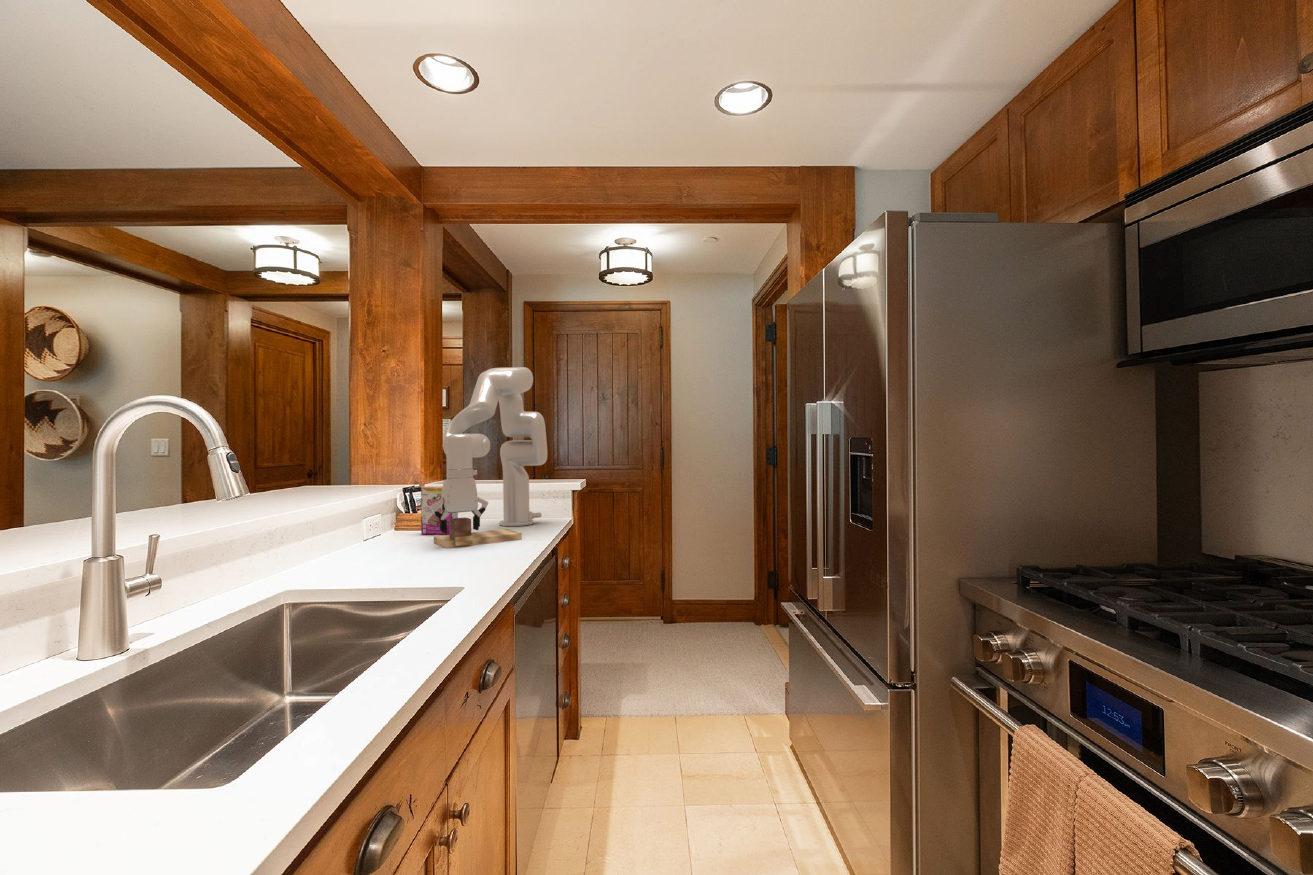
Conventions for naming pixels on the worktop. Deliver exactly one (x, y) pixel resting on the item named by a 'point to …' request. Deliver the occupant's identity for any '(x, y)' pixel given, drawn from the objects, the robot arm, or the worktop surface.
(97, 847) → the worktop surface
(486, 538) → the pine board
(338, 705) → the worktop surface
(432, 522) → the candy bar box
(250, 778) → the worktop surface
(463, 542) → the brown block
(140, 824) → the worktop surface
